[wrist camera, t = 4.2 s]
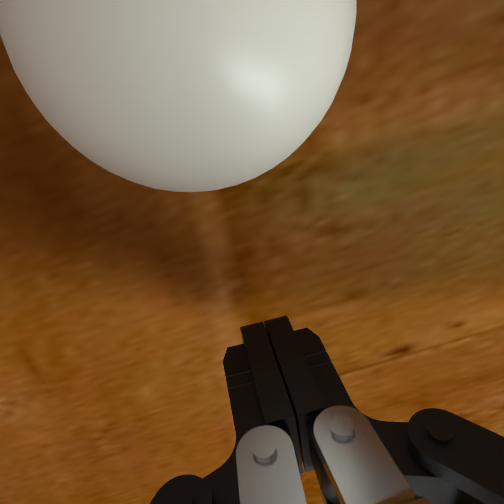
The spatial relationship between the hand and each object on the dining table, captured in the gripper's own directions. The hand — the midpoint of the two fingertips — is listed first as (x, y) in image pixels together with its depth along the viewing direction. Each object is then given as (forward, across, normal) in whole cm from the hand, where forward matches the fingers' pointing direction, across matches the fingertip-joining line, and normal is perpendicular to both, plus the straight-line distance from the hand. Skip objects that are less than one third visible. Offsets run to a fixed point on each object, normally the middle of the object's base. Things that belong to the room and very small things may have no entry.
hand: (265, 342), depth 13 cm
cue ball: (-1, 0, -9) cm, 9 cm away
